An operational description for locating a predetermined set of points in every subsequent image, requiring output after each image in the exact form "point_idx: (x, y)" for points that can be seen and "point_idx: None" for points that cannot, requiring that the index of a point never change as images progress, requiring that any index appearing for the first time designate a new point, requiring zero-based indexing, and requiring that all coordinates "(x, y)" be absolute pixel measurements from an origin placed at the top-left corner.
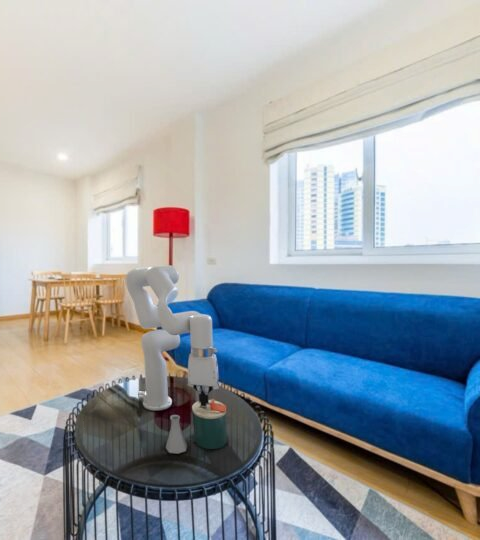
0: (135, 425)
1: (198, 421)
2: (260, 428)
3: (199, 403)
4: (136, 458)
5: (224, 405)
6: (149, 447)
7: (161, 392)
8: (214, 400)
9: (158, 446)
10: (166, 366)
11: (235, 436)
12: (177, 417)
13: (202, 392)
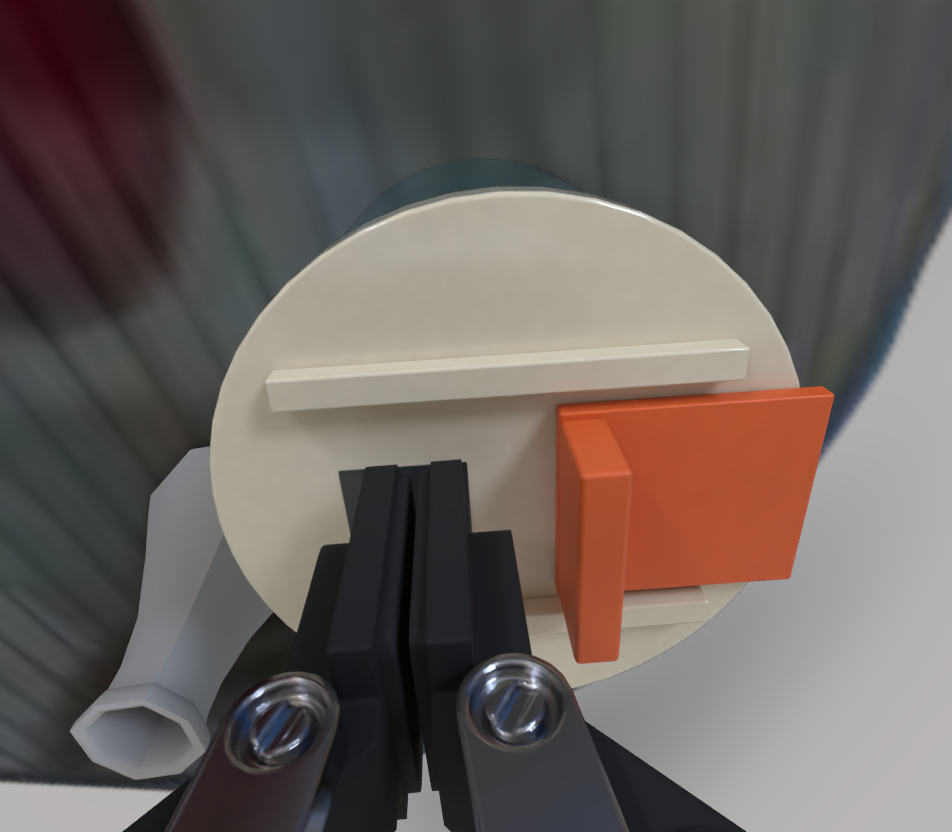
0: None
1: None
2: None
3: (302, 423)
4: (69, 672)
5: (796, 412)
6: (62, 570)
7: None
8: (570, 201)
9: (116, 542)
10: None
11: (718, 203)
12: (152, 685)
13: (396, 796)
